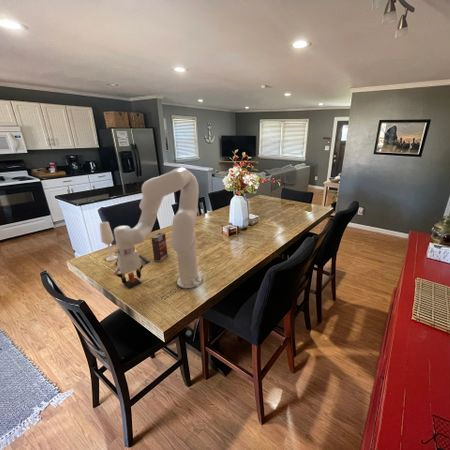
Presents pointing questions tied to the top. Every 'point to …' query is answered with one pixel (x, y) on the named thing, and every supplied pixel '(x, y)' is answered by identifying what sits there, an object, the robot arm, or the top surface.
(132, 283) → the stud pad
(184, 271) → the robot arm
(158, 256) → the supplement box
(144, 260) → the base pad
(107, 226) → the champagne flute
